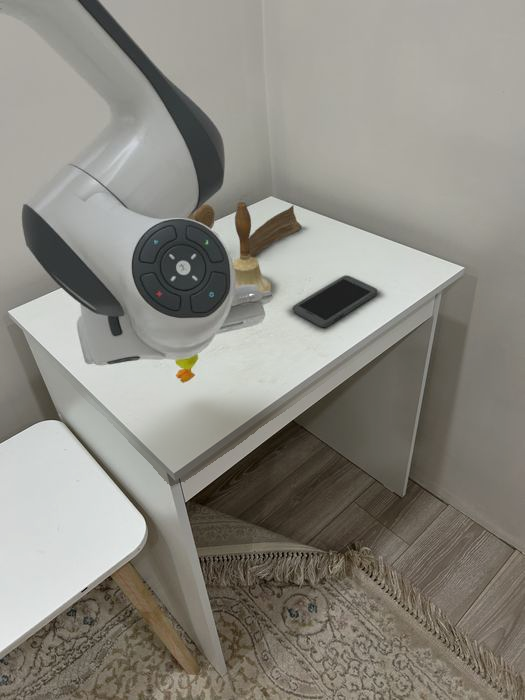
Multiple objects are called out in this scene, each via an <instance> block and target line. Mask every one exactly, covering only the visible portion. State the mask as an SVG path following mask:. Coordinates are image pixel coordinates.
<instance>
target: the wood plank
mask: <svg viewBox="0 0 525 700" xmlns="http://www.w3.org/2000/svg"><path fill="white" fill-rule="evenodd" d="M294 208H295V207H294V205H291V207H289V208H287V209H285V210H283V211H281V212H280V213H277V214H276V215H274V216H273V217H271V218H269V219H268V220H267V221H266V222H264V223H263V224H262V225H261V226H259V227H258V228H257V229H255V231H254V232H253V233H252V234H250V236H249V247H250V257H253V258H255V256H256V255H258V254H259V253H261V252H262V251H263V250H265V249H266V248H268V247H269V246H270V245H272V244H274V243H275V242H277V241H279V240H282V239H283V238H284V237H286V236H289V235H292V234H294V233H297V232H299V231H300V230H302V225H301V223H300V222H299V221H298V220H297V217H296V214H295V211H294Z"/></svg>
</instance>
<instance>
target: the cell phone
mask: <svg viewBox="0 0 525 700" xmlns="http://www.w3.org/2000/svg"><path fill="white" fill-rule="evenodd" d="M378 292H379V291H378V289H377V288H376V287H374V286H372V285H370V284H368V283H366V282H364V281H362V280H359V279H357V278H355V277H353V276H350V275H343V276H341V277H339V278H338V279H336V280H334V281H333V282H331V283H329V284H328V285H325V286H324V287H323V288H320V289H319V290H317V291H316V292H314V293H313V294H311V295H309V296H307V297H306V298H304V299H302V300H300V301H298V302H297V303H296V304H294V305H293V306H292V312H294V313H295V314H297V315H298V316H300V317H302V318H304V319H306V320H308V321H309V322H311V323H313V324H314V325H317V326H318V327H321V328H326V327H329V326H330V325H332V324H333V323H335V322H336V321H338V320H339V319H341V318H342V317H344V316H346V315H347V314H349V313H350V312H352V311H354V310H355V309H356V308H358V307H359V306H361V305H363V304H364V303H366V302H367V301H369V300H370V299H372V298H373V297H375V296H376V295H377V294H378Z"/></svg>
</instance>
